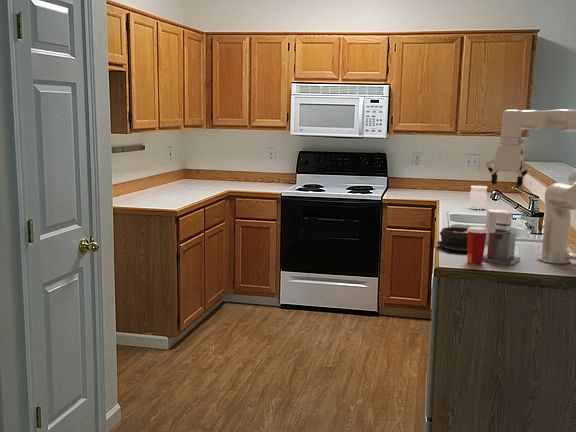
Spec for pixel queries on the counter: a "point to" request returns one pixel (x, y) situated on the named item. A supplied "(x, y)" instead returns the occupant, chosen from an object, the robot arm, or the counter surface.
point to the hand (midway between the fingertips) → (506, 185)
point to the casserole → (454, 238)
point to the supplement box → (491, 221)
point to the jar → (478, 196)
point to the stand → (501, 249)
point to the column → (503, 223)
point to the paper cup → (476, 245)
